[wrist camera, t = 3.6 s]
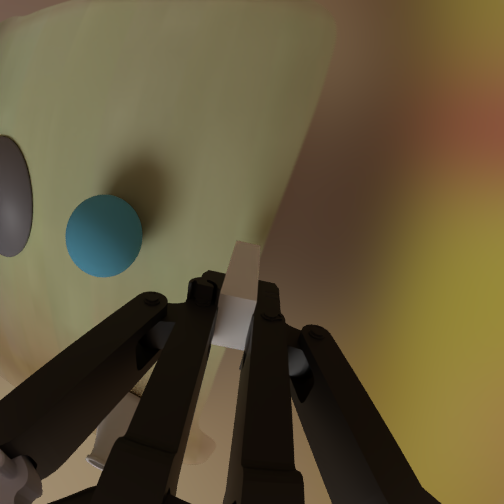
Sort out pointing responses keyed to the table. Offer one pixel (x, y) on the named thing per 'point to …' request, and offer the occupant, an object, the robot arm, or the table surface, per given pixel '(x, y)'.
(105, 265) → the ball
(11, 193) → the mark
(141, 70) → the table surface
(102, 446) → the flask
